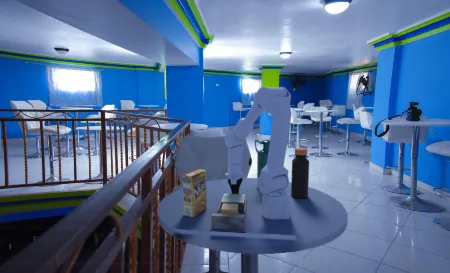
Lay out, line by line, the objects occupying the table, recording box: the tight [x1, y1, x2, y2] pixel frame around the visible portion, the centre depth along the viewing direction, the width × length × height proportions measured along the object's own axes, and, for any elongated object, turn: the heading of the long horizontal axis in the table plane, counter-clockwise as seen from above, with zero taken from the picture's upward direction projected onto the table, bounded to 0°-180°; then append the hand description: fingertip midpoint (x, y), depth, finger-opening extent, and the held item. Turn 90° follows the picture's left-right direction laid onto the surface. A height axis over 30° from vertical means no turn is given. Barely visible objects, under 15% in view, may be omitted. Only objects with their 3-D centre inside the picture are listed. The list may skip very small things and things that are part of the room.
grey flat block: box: [220, 193, 246, 212], centre depth 106 cm, size 8×9×3 cm
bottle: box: [290, 147, 310, 200], centre depth 118 cm, size 7×7×20 cm
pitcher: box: [254, 138, 270, 191], centre depth 128 cm, size 10×8×22 cm
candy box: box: [182, 168, 208, 218], centre depth 100 cm, size 9×4×15 cm, turn 150°
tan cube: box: [220, 203, 239, 214], centre depth 93 cm, size 5×5×5 cm
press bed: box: [209, 196, 248, 234], centre depth 99 cm, size 11×24×5 cm, turn 173°
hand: (235, 196), depth 114 cm, fingers closed
